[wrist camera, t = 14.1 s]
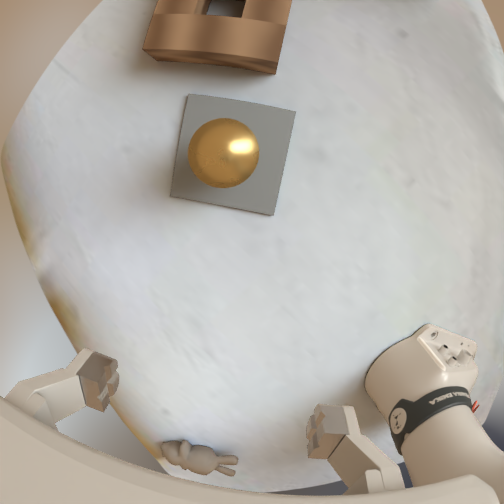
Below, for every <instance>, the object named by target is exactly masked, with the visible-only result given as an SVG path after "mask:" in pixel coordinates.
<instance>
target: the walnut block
mask: <svg viewBox="0 0 504 504" xmlns="http://www.w3.org/2000/svg"><path fill="white" fill-rule="evenodd" d="M210 1H211V0H158V2H157V5H156V8H155V10H154V13H153V16H152V19H151V22H150V25H149V29H148V32H147V35H146V38H145V42H144V45H143V50H144V51H145V52H147V53H148V54H149V55H150V56H152V57H153V58H154V59H155V60H156V61H175V62H190V63H202V64H212V65H220V66H228V67H236V68H242V69H249V70H255V71H261V72H266V73H271V74H276V70H277V66H278V61H279V56H280V52H281V47H282V43H283V38H284V34H285V29H286V25H287V20H288V16H289V11H290V7H291V3H292V0H238V1H246V3H245V7H244V10H243V14H242V18H237V17H228V16H216V15H206V14H207V10H208V7H209V4H210Z"/></svg>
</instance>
